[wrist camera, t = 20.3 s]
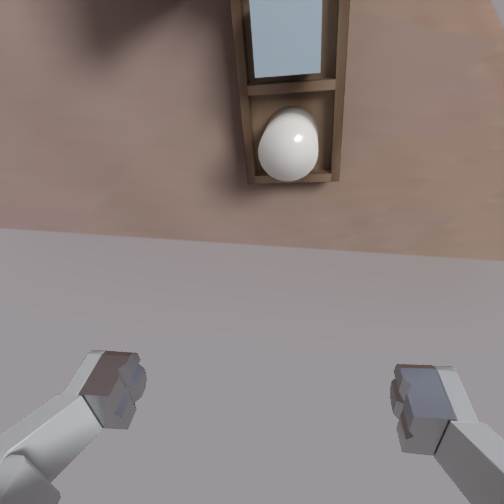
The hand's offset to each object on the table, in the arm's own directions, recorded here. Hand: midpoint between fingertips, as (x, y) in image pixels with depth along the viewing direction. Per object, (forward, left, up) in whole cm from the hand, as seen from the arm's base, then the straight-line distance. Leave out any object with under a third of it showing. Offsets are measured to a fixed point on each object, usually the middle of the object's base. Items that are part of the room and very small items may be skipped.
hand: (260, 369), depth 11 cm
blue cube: (0, +8, -27) cm, 29 cm away
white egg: (0, 0, -27) cm, 27 cm away
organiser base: (0, +4, -29) cm, 29 cm away
